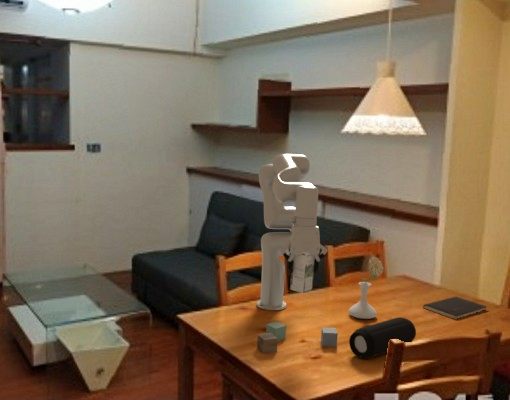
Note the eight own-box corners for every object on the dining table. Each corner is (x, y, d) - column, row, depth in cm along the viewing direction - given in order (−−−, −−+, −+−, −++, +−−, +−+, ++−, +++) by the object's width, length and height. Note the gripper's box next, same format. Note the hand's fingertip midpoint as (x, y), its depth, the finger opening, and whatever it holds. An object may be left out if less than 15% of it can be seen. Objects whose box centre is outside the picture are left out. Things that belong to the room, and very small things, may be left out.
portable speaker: (368, 365, 172) (370, 335, 171) (346, 353, 180) (348, 325, 179) (416, 348, 188) (419, 321, 186) (394, 338, 195) (396, 312, 194)
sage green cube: (265, 337, 191) (266, 324, 190) (276, 334, 194) (276, 321, 194) (275, 342, 187) (275, 328, 187) (285, 339, 190) (286, 325, 190)
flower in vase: (356, 322, 210) (360, 260, 206) (343, 312, 221) (347, 253, 217) (385, 320, 213) (390, 259, 210) (371, 310, 224) (376, 252, 221)
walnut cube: (257, 348, 181) (257, 334, 181) (270, 346, 183) (271, 332, 183) (263, 354, 177) (264, 340, 176) (276, 352, 179) (277, 338, 178)
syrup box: (299, 286, 188) (301, 246, 185) (313, 290, 184) (315, 249, 182) (289, 289, 183) (291, 248, 181) (303, 293, 179) (306, 252, 177)
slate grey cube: (320, 340, 190) (321, 327, 190) (334, 341, 190) (335, 328, 190) (322, 346, 185) (323, 332, 185) (336, 347, 185) (337, 333, 185)
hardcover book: (486, 311, 231) (487, 306, 231) (455, 320, 218) (456, 315, 217) (454, 300, 244) (454, 296, 244) (423, 309, 231) (423, 304, 230)
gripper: (282, 223, 175) (279, 275, 177) (333, 224, 178) (330, 275, 180) (278, 219, 182) (275, 268, 185) (326, 220, 185) (323, 268, 188)
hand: (302, 271), depth 183 cm, fingers closed on syrup box, 8 cm apart
